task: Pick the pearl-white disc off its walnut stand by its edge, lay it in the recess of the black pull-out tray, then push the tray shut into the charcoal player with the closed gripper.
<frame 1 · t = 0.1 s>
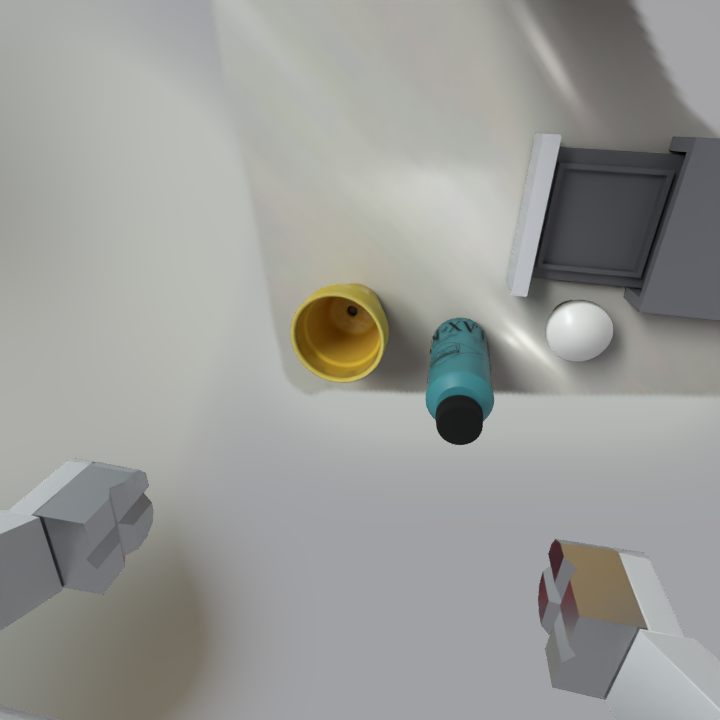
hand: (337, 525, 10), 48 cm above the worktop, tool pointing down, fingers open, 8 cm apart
disc: (576, 328, 52), point 3 cm above the worktop, touching disc stand
plant pot: (354, 308, 59), on the worktop
tray: (617, 224, 47), point 3 cm above the worktop, slide at 11.0 cm
beverage bottle: (458, 336, 58), on the worktop
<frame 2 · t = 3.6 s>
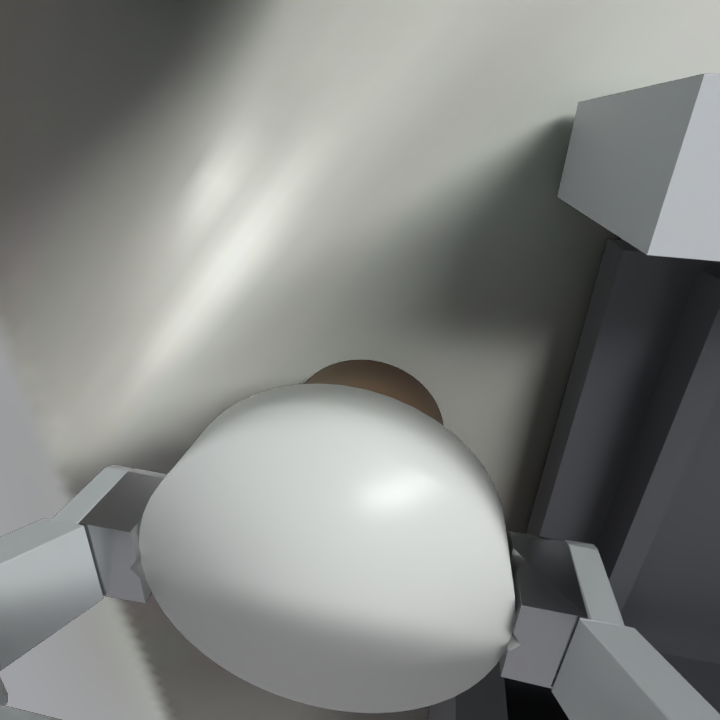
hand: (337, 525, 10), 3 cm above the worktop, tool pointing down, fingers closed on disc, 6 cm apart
disc stand: (366, 428, 13), on the worktop
disc: (337, 526, 9), point 3 cm above the worktop, touching disc stand, gripper
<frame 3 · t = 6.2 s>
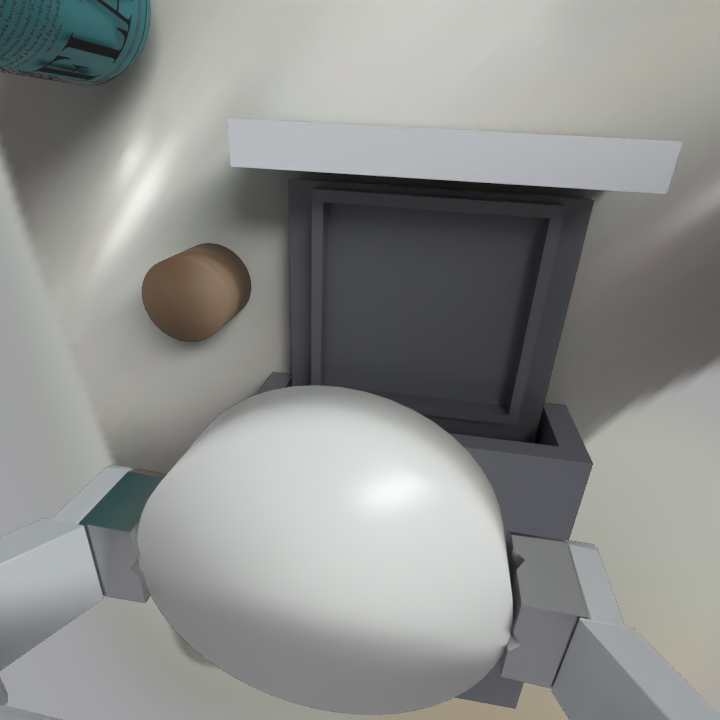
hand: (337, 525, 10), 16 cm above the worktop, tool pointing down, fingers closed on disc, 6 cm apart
disc stand: (214, 281, 25), on the worktop
disc: (335, 528, 9), point 16 cm above the worktop, touching gripper
tray: (418, 346, 22), point 3 cm above the worktop, slide at 11.0 cm
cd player: (400, 514, 30), on the worktop
beverage bottle: (106, 3, 21), on the worktop
when the fingers open (3 cm above the worktop, at t = 8.7 s): disc drops 2 cm, resting on tray.
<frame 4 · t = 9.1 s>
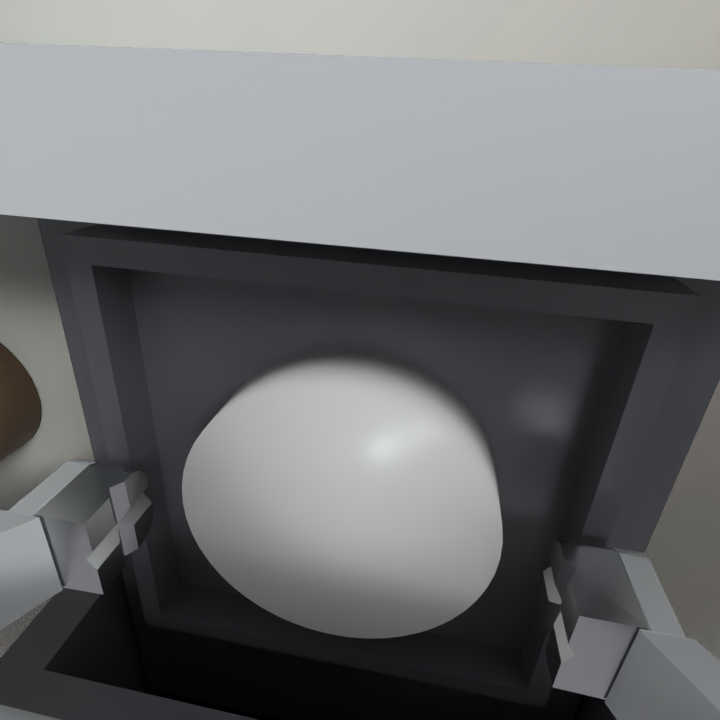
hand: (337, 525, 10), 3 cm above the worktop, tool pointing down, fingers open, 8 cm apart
disc: (350, 477, 11), point 1 cm above the worktop, touching tray
tray: (334, 570, 10), point 3 cm above the worktop, slide at 11.0 cm, touching disc
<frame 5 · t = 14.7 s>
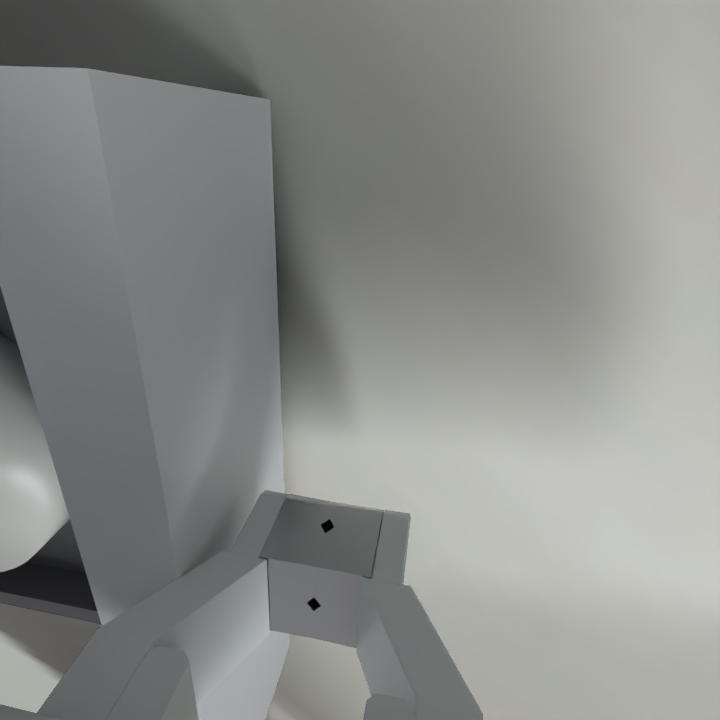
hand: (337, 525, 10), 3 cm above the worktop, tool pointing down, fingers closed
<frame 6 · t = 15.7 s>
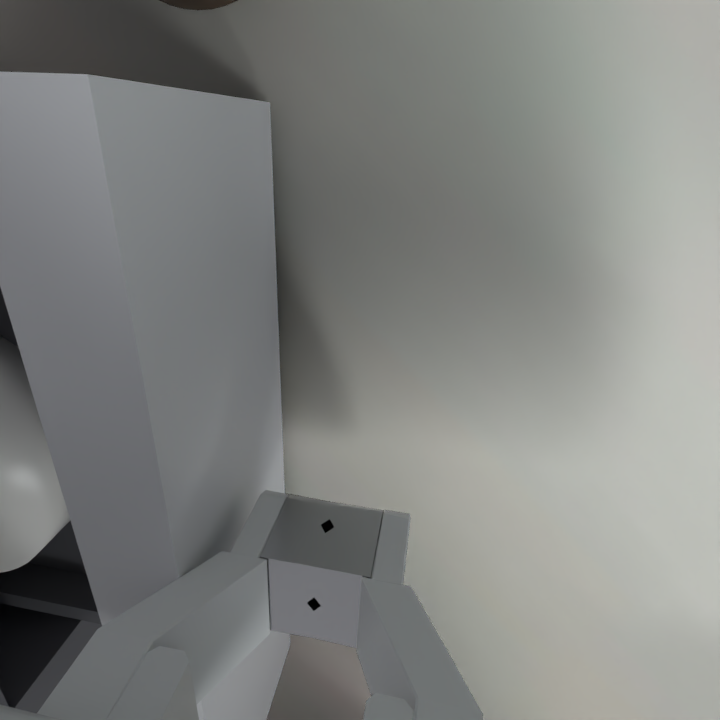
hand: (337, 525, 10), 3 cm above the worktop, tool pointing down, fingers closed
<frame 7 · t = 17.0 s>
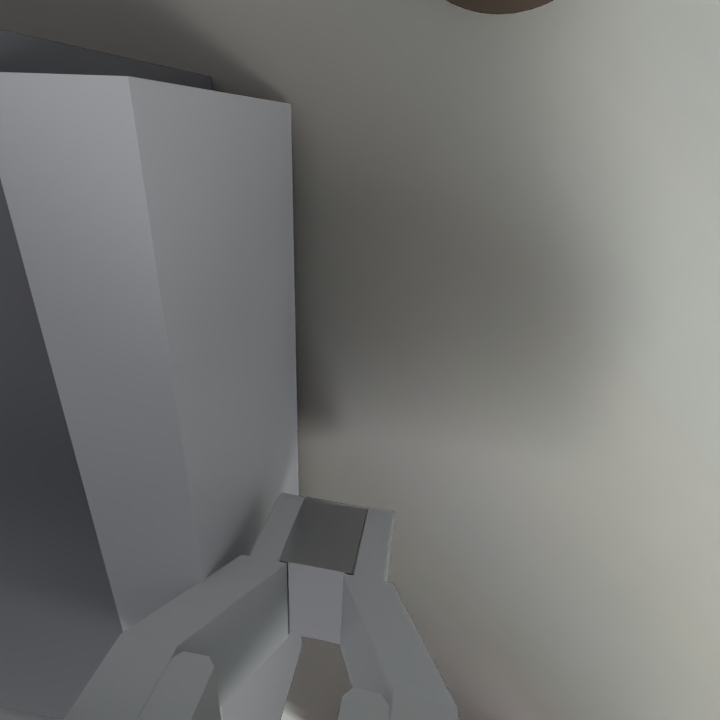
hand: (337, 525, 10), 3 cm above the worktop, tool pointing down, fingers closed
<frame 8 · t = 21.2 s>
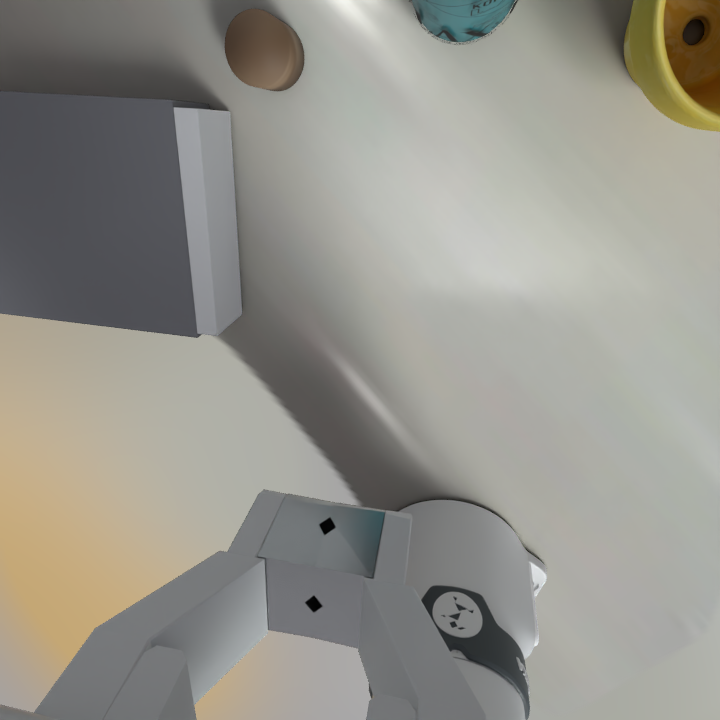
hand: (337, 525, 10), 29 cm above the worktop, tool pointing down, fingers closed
disc stand: (275, 57, 32), on the worktop
plant pot: (686, 33, 28), on the worktop
tray: (110, 217, 36), point 3 cm above the worktop, slide at 0.0 cm, touching disc
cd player: (112, 210, 39), on the worktop
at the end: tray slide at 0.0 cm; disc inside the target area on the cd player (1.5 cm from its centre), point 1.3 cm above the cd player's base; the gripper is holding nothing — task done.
